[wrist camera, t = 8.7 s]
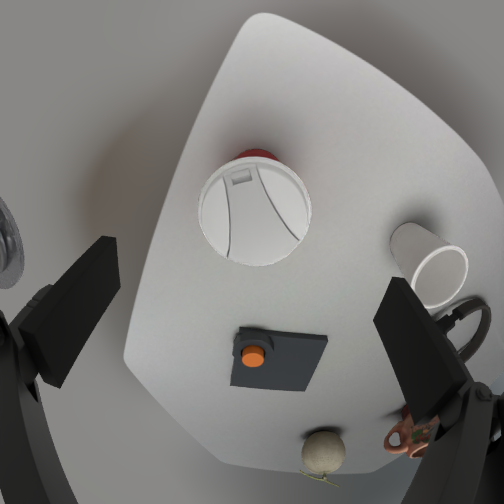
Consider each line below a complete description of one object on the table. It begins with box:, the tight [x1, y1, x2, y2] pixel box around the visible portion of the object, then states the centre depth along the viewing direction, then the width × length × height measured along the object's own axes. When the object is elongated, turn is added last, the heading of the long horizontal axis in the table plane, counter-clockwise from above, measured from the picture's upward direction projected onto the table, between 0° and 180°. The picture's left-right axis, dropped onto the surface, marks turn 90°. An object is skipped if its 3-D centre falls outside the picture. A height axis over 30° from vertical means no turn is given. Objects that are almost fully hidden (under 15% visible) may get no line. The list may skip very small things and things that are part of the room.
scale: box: [230, 327, 328, 391], centre depth 46 cm, size 14×15×3 cm
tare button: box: [242, 345, 264, 367], centre depth 42 cm, size 3×3×2 cm
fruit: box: [299, 431, 345, 487], centre depth 54 cm, size 10×12×15 cm
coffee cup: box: [197, 149, 312, 267], centre depth 26 cm, size 8×8×15 cm
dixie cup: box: [390, 223, 468, 308], centre depth 32 cm, size 8×8×10 cm
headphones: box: [435, 299, 491, 363], centre depth 43 cm, size 17×8×20 cm
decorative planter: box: [384, 405, 439, 458], centre depth 51 cm, size 20×12×14 cm, turn 103°
